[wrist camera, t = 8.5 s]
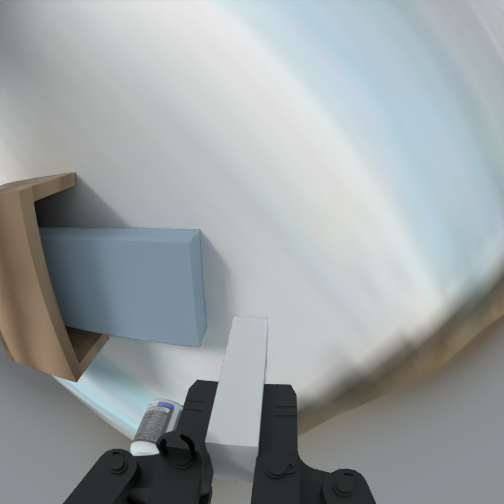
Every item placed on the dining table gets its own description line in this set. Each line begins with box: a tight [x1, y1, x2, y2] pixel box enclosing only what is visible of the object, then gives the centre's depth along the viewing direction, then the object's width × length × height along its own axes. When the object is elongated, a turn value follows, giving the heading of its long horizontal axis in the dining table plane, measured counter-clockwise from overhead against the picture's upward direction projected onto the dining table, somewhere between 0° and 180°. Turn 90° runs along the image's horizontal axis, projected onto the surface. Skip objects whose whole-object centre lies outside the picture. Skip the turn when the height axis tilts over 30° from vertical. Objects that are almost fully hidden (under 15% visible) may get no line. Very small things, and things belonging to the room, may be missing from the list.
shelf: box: [0, 173, 109, 382], centre depth 20 cm, size 9×15×6 cm, turn 0°
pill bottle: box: [131, 399, 183, 456], centre depth 25 cm, size 5×5×8 cm
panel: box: [38, 227, 207, 347], centre depth 22 cm, size 15×8×3 cm, turn 90°
